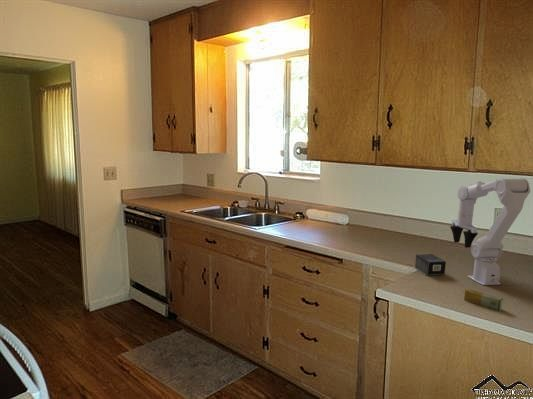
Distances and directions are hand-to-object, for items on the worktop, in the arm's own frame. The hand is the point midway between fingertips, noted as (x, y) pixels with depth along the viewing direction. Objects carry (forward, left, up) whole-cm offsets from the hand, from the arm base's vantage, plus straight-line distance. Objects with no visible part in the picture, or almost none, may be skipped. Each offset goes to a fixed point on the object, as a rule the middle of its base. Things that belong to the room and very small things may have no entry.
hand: (461, 244), depth 182 cm
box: (-9, +16, -7) cm, 20 cm away
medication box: (-37, +16, -11) cm, 41 cm away
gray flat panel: (-3, +16, -10) cm, 20 cm away
